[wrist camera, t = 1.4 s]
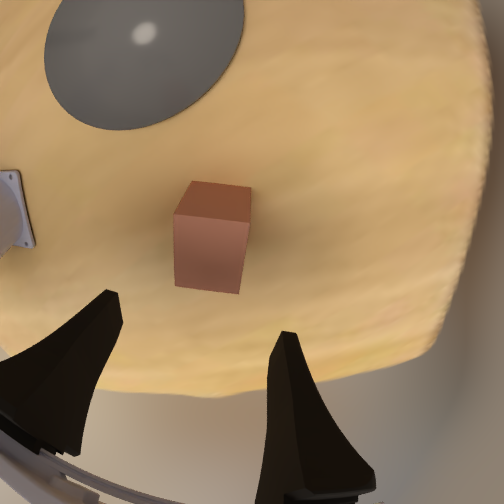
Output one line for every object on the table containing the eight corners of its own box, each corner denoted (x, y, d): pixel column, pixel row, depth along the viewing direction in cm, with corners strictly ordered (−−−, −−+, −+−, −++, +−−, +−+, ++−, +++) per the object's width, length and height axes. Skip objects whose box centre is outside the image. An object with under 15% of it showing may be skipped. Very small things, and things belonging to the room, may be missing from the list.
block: (189, 242, 21) (174, 286, 17) (192, 180, 18) (173, 214, 14) (241, 248, 21) (238, 294, 17) (251, 187, 18) (250, 223, 14)
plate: (48, 132, 15) (42, 134, 14) (67, -30, 7) (62, -32, 7) (227, 133, 16) (226, 135, 16) (259, -55, 8) (259, -60, 8)
